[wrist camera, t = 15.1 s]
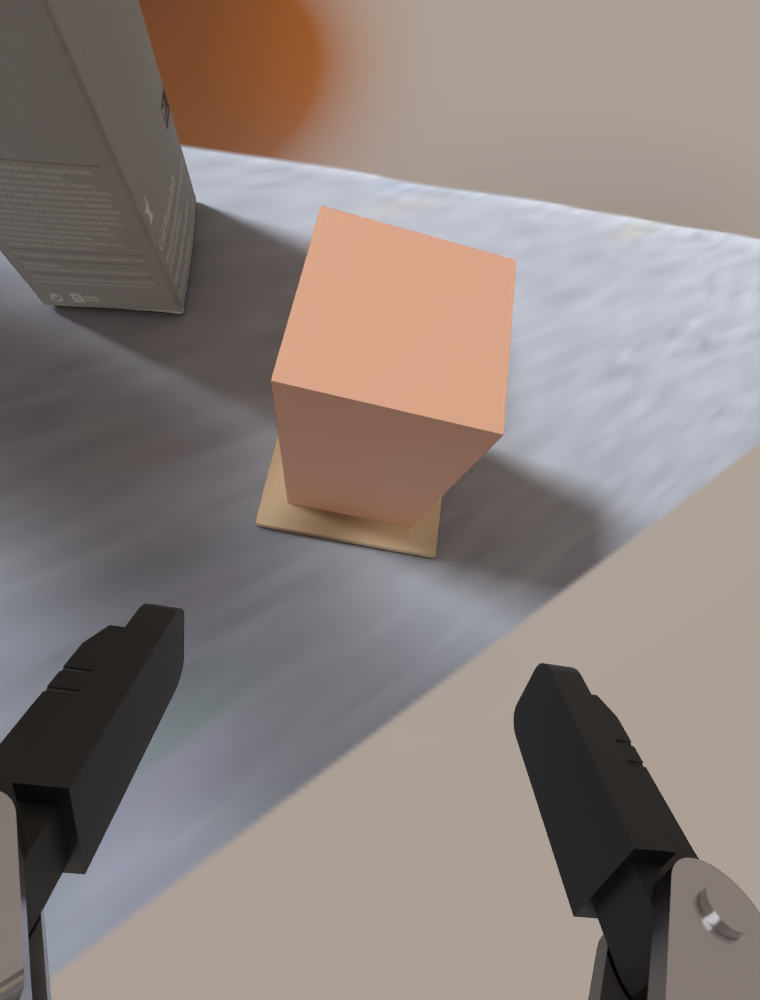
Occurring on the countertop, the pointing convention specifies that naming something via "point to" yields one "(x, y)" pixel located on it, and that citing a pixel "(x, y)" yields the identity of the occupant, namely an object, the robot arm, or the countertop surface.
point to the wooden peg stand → (342, 520)
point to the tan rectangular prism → (390, 368)
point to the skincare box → (90, 159)
